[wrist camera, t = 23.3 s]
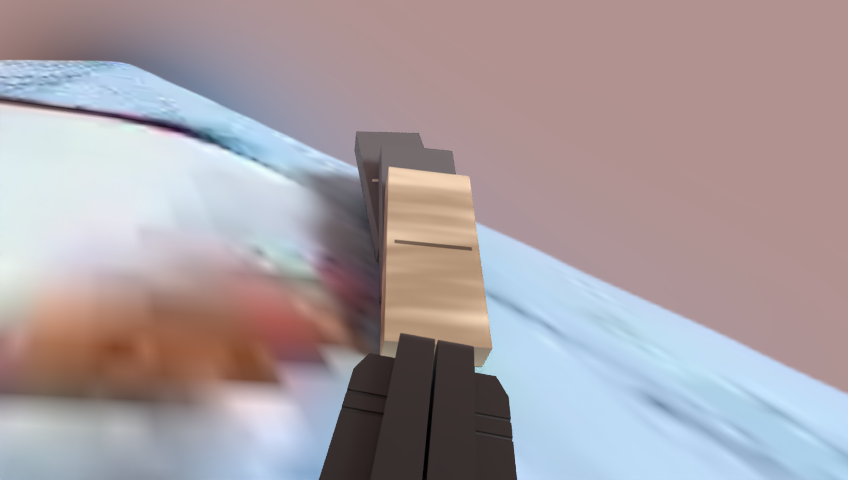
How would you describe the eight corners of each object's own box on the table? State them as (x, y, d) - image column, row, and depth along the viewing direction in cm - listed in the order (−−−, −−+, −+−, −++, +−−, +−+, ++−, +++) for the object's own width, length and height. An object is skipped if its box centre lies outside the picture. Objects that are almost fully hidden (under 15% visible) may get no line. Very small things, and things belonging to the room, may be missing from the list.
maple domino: (492, 347, 24) (469, 176, 32) (384, 340, 23) (388, 166, 31) (481, 366, 25) (462, 197, 33) (379, 360, 24) (385, 188, 32)
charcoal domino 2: (474, 288, 28) (452, 150, 36) (383, 283, 27) (381, 143, 35) (466, 307, 29) (446, 170, 37) (379, 303, 29) (378, 164, 37)
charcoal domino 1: (456, 239, 33) (418, 132, 41) (379, 241, 32) (356, 131, 40) (450, 258, 34) (415, 151, 42) (376, 262, 33) (354, 150, 41)
